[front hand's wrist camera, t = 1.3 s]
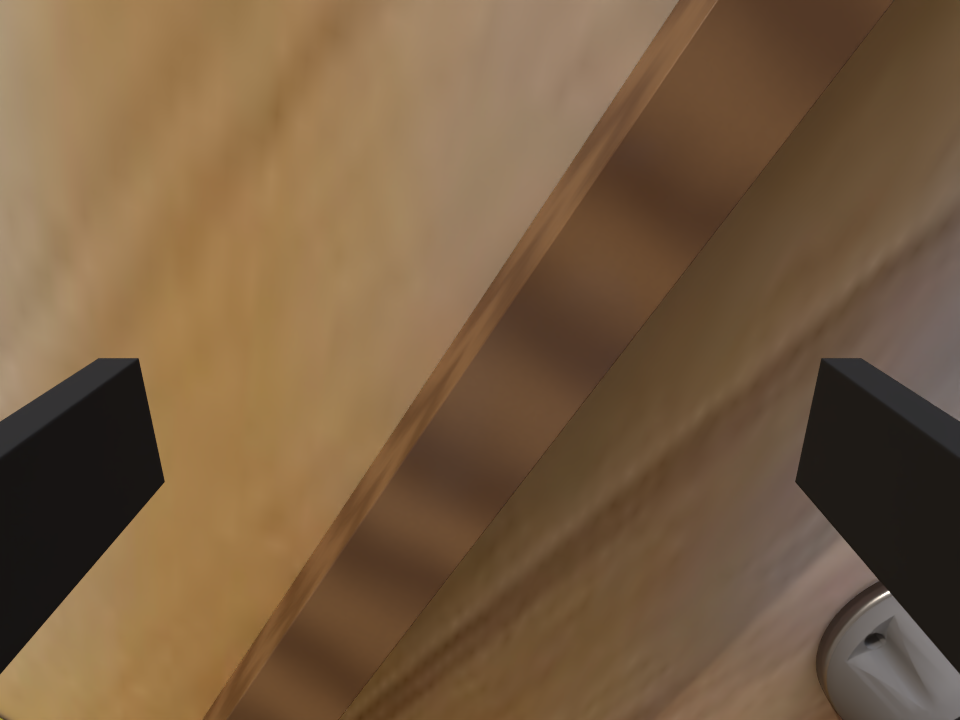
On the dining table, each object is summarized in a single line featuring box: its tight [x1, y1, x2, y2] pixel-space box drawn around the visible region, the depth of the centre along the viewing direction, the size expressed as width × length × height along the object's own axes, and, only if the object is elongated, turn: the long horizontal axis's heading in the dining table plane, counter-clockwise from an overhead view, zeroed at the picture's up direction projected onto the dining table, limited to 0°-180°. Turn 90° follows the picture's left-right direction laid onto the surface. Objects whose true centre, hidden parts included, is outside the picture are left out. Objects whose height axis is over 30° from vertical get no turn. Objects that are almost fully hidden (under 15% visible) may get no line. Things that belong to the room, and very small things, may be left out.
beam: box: [203, 0, 894, 720], centre depth 32 cm, size 84×6×8 cm, turn 147°
